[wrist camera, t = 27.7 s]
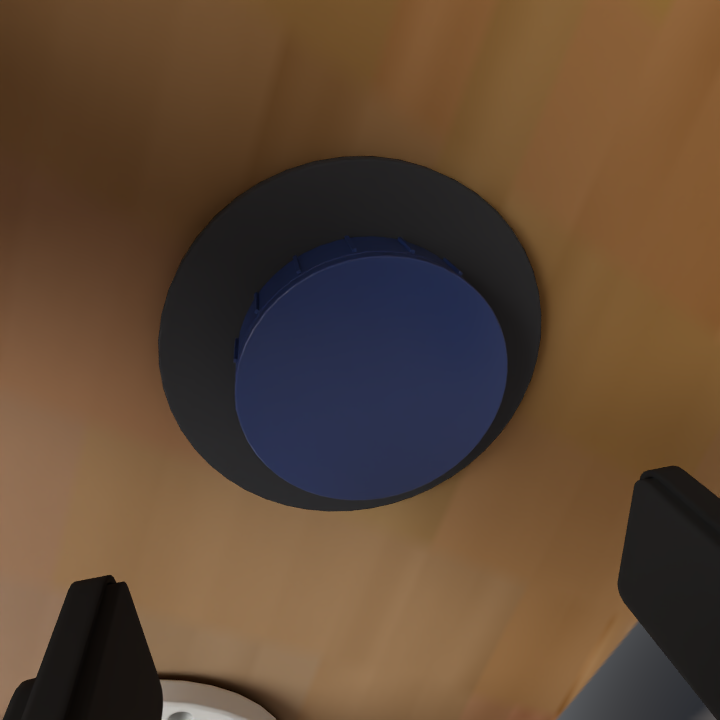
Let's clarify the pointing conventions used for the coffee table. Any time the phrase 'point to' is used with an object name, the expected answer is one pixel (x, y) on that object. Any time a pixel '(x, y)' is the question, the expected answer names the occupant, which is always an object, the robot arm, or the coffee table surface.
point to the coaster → (301, 234)
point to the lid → (367, 369)
